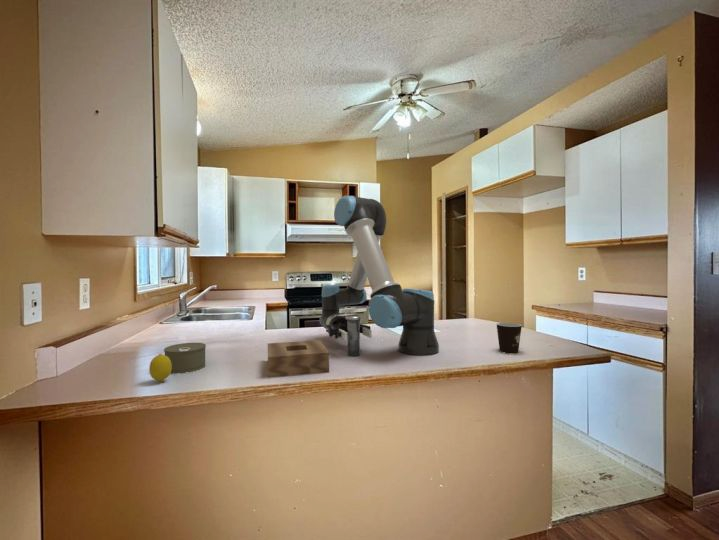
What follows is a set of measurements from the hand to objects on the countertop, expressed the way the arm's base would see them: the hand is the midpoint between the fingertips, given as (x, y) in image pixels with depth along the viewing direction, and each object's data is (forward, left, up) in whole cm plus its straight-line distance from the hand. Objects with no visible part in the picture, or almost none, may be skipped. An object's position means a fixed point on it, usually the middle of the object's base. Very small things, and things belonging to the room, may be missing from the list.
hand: (358, 335), depth 124 cm
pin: (+3, -4, -8) cm, 9 cm away
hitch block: (+17, +14, -8) cm, 23 cm away
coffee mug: (-53, -23, -8) cm, 58 cm away
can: (+51, +24, -8) cm, 57 cm away
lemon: (+48, +37, -8) cm, 61 cm away
